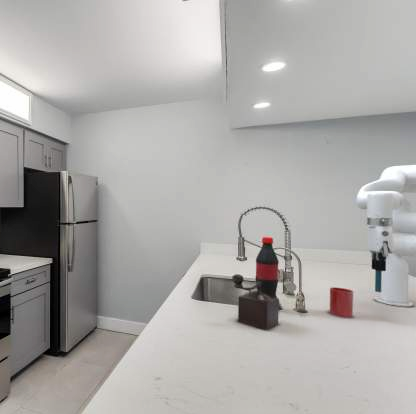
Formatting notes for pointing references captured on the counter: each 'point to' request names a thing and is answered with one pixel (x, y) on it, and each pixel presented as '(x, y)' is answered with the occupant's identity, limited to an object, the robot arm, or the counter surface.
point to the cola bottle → (267, 268)
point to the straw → (378, 280)
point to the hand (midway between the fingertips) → (378, 269)
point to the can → (341, 302)
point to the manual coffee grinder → (256, 306)
